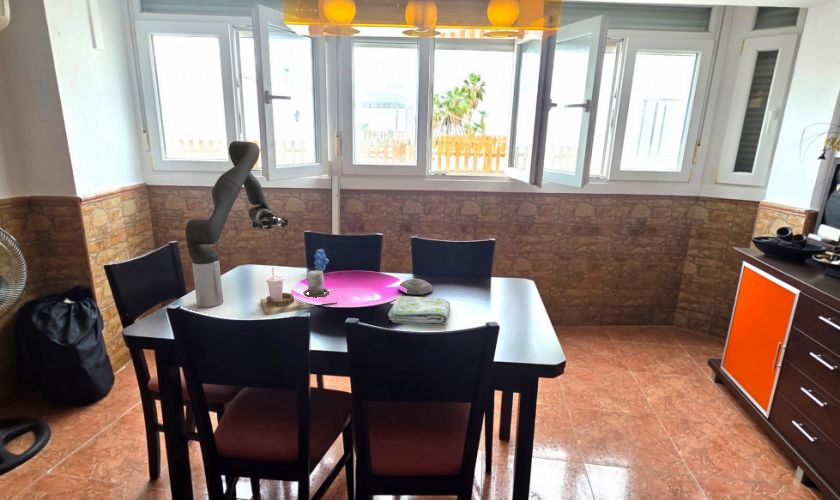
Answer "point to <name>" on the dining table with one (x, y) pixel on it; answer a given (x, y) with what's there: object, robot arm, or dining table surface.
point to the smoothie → (275, 287)
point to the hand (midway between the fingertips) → (272, 225)
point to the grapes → (320, 260)
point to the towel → (420, 310)
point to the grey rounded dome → (416, 286)
